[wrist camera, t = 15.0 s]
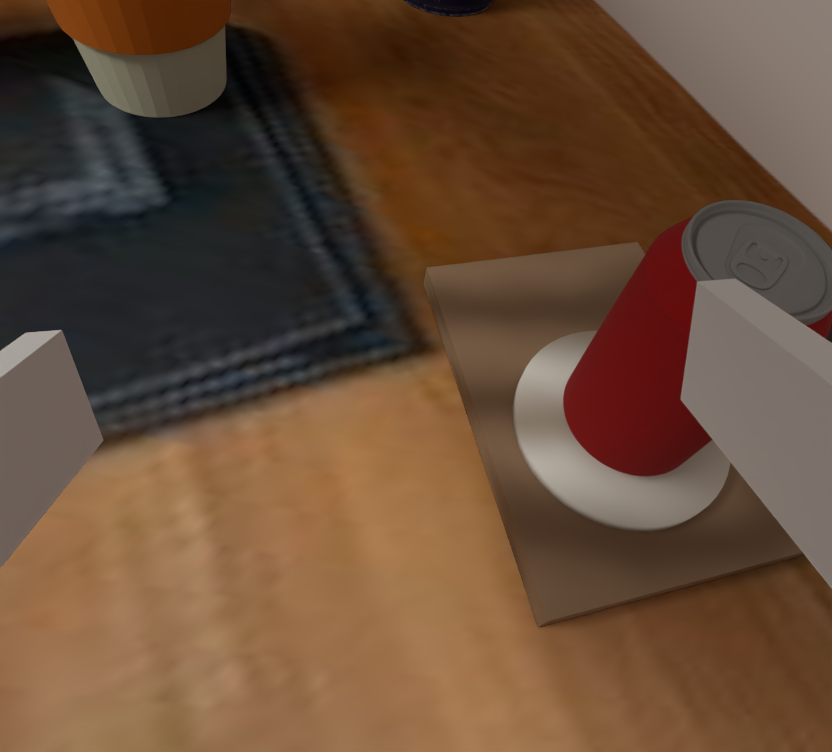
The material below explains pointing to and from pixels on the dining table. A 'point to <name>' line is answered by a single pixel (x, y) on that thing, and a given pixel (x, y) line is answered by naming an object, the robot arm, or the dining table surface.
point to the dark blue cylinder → (452, 6)
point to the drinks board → (563, 455)
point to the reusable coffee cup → (150, 51)
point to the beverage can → (685, 329)
